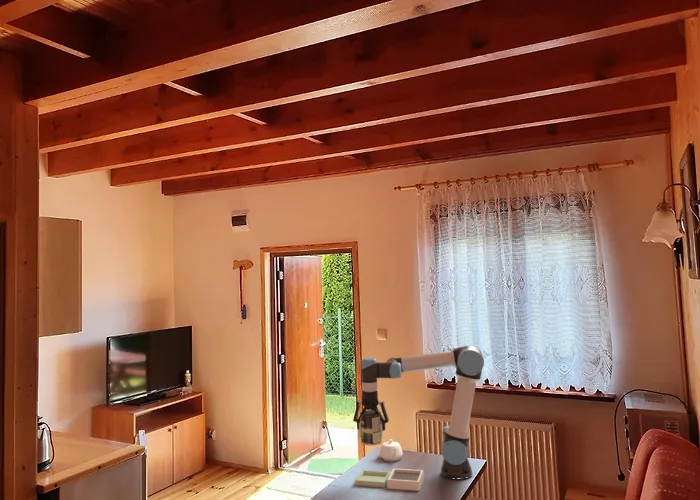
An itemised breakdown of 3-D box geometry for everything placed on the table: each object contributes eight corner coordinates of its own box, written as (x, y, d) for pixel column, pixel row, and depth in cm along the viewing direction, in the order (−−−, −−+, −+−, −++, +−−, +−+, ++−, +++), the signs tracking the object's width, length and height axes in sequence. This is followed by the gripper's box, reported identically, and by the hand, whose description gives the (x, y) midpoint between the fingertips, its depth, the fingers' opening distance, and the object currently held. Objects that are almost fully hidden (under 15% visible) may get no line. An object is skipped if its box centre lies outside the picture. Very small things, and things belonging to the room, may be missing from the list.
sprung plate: (420, 475, 256) (420, 473, 256) (416, 485, 244) (416, 483, 244) (395, 474, 259) (395, 472, 259) (390, 483, 247) (390, 481, 247)
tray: (390, 476, 261) (390, 471, 261) (384, 487, 247) (384, 482, 247) (362, 475, 264) (362, 469, 264) (355, 485, 251) (355, 480, 251)
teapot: (407, 464, 278) (406, 444, 279) (384, 466, 276) (384, 446, 276) (398, 452, 298) (397, 433, 298) (376, 454, 296) (375, 435, 296)
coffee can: (362, 446, 251) (361, 416, 252) (360, 439, 261) (358, 410, 262) (383, 444, 252) (382, 414, 253) (380, 438, 262) (379, 409, 263)
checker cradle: (423, 478, 257) (423, 470, 257) (419, 490, 242) (419, 481, 242) (393, 476, 261) (393, 468, 261) (387, 488, 246) (387, 479, 246)
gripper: (394, 389, 259) (395, 435, 258) (349, 388, 265) (351, 433, 264) (391, 392, 252) (392, 440, 250) (345, 391, 258) (347, 437, 256)
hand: (371, 436), depth 257 cm, fingers closed on coffee can, 10 cm apart
